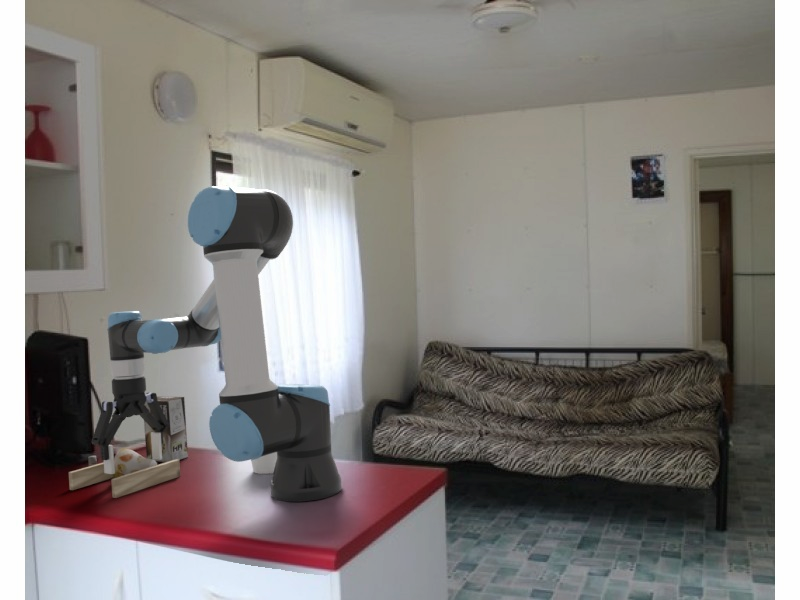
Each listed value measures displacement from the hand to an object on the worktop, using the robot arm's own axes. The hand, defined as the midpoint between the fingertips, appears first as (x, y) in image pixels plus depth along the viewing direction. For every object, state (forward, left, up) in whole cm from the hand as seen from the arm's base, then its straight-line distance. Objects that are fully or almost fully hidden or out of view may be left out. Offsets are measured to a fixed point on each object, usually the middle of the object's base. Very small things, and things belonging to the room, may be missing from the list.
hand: (134, 466), depth 173 cm
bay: (0, +2, -3) cm, 4 cm away
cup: (-25, -19, -4) cm, 31 cm away
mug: (0, -1, -3) cm, 3 cm away
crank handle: (+12, -2, -4) cm, 13 cm away
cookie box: (+9, -18, -4) cm, 20 cm away
